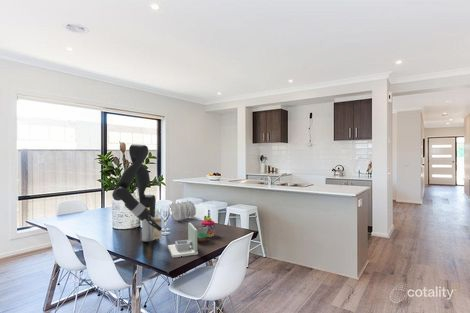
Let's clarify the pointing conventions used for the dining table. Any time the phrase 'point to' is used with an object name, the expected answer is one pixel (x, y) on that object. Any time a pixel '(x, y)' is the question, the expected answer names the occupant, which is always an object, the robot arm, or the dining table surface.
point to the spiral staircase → (183, 210)
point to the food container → (202, 234)
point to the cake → (210, 225)
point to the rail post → (155, 231)
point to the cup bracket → (185, 244)
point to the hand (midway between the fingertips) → (160, 228)
